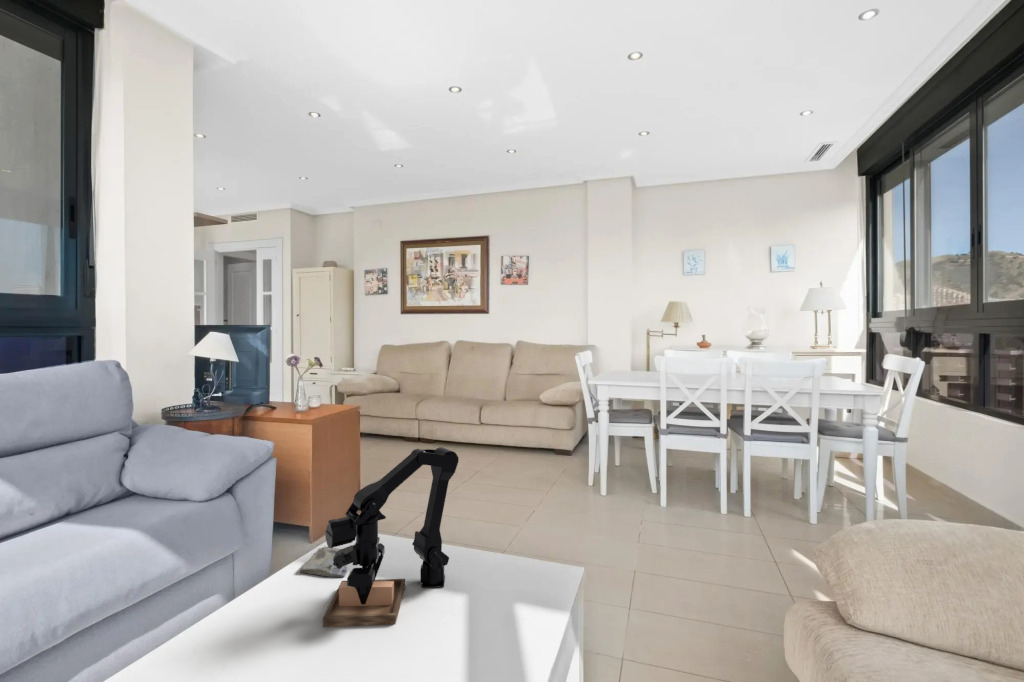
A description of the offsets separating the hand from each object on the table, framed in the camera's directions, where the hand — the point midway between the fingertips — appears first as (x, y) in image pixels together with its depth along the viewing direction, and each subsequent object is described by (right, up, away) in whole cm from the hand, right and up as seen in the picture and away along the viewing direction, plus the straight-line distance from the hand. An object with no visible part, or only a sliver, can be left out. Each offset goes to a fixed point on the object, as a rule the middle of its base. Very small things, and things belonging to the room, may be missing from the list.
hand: (367, 594), depth 132 cm
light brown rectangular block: (0, -2, 0) cm, 2 cm away
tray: (0, -3, 0) cm, 3 cm away
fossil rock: (-19, -3, +24) cm, 30 cm away
